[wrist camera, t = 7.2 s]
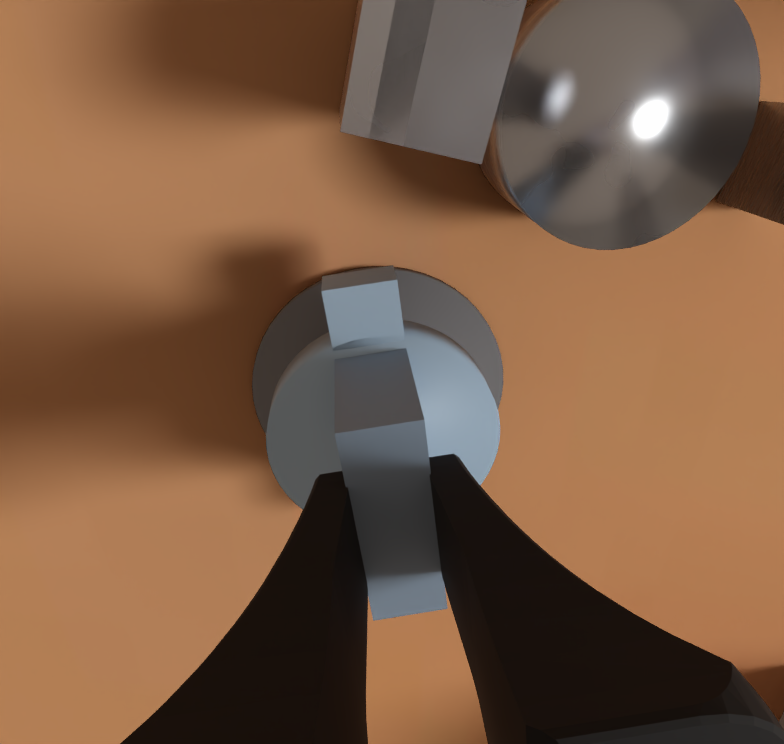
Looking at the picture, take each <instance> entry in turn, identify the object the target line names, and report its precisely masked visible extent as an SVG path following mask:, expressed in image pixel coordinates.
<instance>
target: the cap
mask: <svg viewBox="0 0 784 744" xmlns="http://www.w3.org/2000/svg"><path fill="white" fill-rule="evenodd" d="M321 292H322V297H323V302H324V308H325V313H326V318H327V323H328V328H329V332H328V333H326V334H324V335H322V336H320V337H319V338H317V339H316V340H314V341H313V342H311V343H310V344H308V345H307V346H306V347H305V348H304V349H303V350H301V351H300V352H299V353H298V354H297V355H296V356H295V358H294V359H293V360H292V361H291V362H290V363H289V364H288V366H287V368H286V369H285V371H284V372H283V374H282V375H281V377H280V379H279V381H278V384H277V386H276V388H275V391H274V395H273V398H272V402H271V408H270V413H269V418H268V424H267V432H266V449H267V454H268V459H269V463H270V466H271V468H272V471H273V474H274V476H275V478H276V479H277V481H278V483H279V485H280V486H281V488H282V489H283V490H284V492H285V493H286V494H287V495H288V496H289V497H290V498H291V499H292V500H293V502H294V503H295V504H296V505H298V506H299V507H300V508H302V509H304V507H305V505H306V502H307V500H308V498H309V495H310V493H311V490H312V488H313V485H314V482H315V479H316V478H317V477H318V476H319V475H320V474H325V473H332V472H338V471H342V472H343V477H344V482H345V486H346V487H348V491H349V496H350V501H351V505H352V510H353V515H354V520H355V525H356V530H357V535H358V540H359V545H360V550H361V555H362V560H363V564H364V569H365V574H366V579H367V586H368V597H369V602H370V607H371V612H372V616H373V621H374V620H380V619H386V618H392V617H399V616H405V615H411V614H417V613H423V612H430V611H436V610H442V609H447V601H446V593H445V584H444V581H443V578H442V572H441V565H440V557H439V549H438V540H437V532H436V524H435V516H434V507H433V499H432V491H431V483H430V475H429V474H431V470H430V462H429V457H435V456H441V455H447V454H455V455H457V456H458V457H459V458H460V459H461V461H462V462H463V464H464V465H465V467H466V468H467V469H468V471H469V472H470V473H471V475H472V476H473V477H474V479H475V480H476V481H477V482H478V484H479V485H481V484H482V482H483V481H484V479H485V478H486V476H487V475H488V473H489V471H490V469H491V467H492V465H493V463H494V460H495V457H496V454H497V451H498V446H499V440H500V420H499V413H498V409H497V406H496V402H495V399H494V397H493V395H492V393H491V391H490V389H489V387H488V385H487V383H486V381H485V378H484V376H483V374H482V372H481V370H480V368H479V367H478V365H477V364H476V362H475V361H474V359H473V358H472V357H471V356H470V355H469V353H468V352H467V351H466V350H465V349H464V348H463V347H462V346H460V345H459V344H458V343H457V342H456V341H454V340H453V339H452V338H450V337H448V336H447V335H445V334H443V333H442V332H440V331H438V330H435V329H433V328H431V327H428V326H426V325H422V324H419V323H415V322H412V321H405V320H402V312H401V304H400V297H399V289H398V281H397V277H396V274H395V270H394V267H393V266H386V267H379V268H373V269H366V270H360V271H353V272H346V273H340V274H333V275H327V276H322V288H321Z"/></svg>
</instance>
